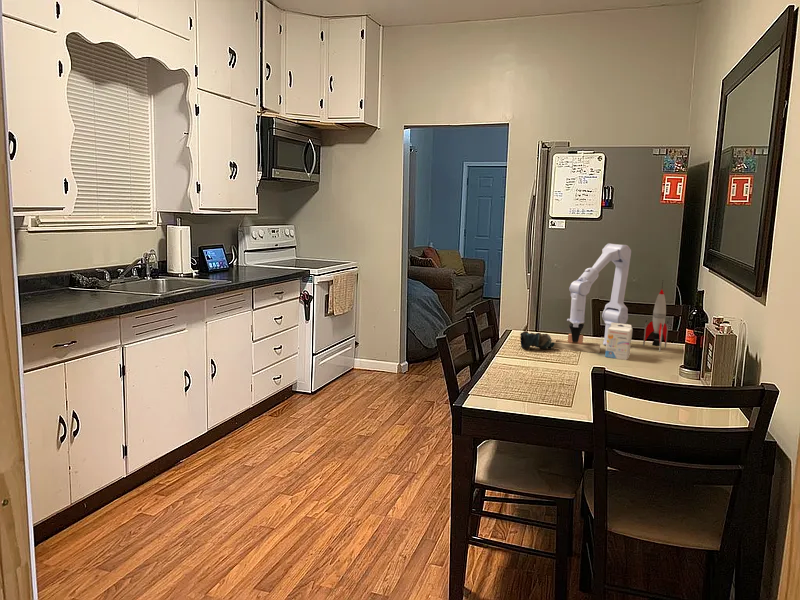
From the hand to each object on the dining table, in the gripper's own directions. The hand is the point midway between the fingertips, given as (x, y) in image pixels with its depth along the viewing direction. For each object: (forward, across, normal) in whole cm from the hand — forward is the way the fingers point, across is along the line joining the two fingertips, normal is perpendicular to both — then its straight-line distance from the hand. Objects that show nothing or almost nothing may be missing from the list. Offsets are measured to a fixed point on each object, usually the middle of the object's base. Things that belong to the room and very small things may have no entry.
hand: (575, 341), depth 257 cm
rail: (+3, 0, 0) cm, 3 cm away
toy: (+3, -16, +33) cm, 37 cm away
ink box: (+3, +6, +17) cm, 18 cm away
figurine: (+4, +8, -15) cm, 17 cm away
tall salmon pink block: (+3, 0, 0) cm, 3 cm away
